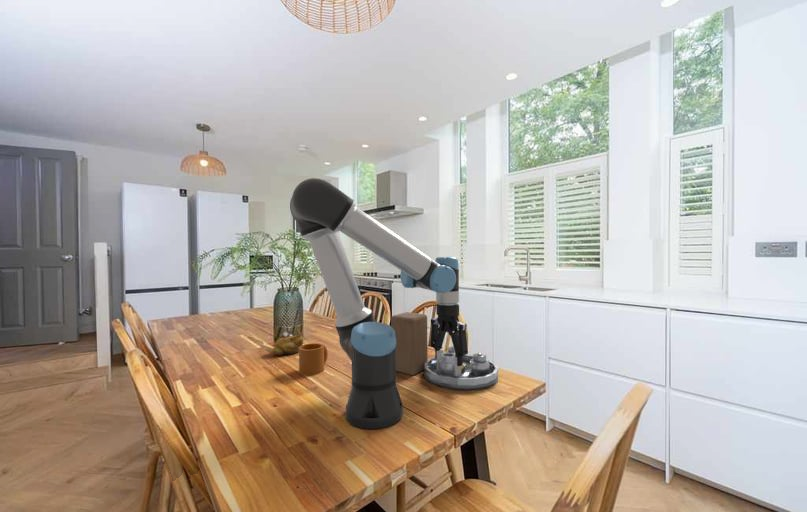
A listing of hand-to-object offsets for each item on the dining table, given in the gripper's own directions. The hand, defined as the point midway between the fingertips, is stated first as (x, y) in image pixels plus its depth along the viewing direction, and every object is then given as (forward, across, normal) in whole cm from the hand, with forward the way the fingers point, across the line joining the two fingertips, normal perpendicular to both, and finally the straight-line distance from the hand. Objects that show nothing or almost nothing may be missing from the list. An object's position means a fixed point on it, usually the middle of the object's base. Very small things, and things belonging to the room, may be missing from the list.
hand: (448, 372), depth 111 cm
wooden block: (+3, +17, +2) cm, 17 cm away
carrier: (+3, 0, -6) cm, 7 cm away
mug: (+3, +41, +27) cm, 49 cm away
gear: (0, 0, 0) cm, 0 cm away
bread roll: (+3, +68, +26) cm, 73 cm away
